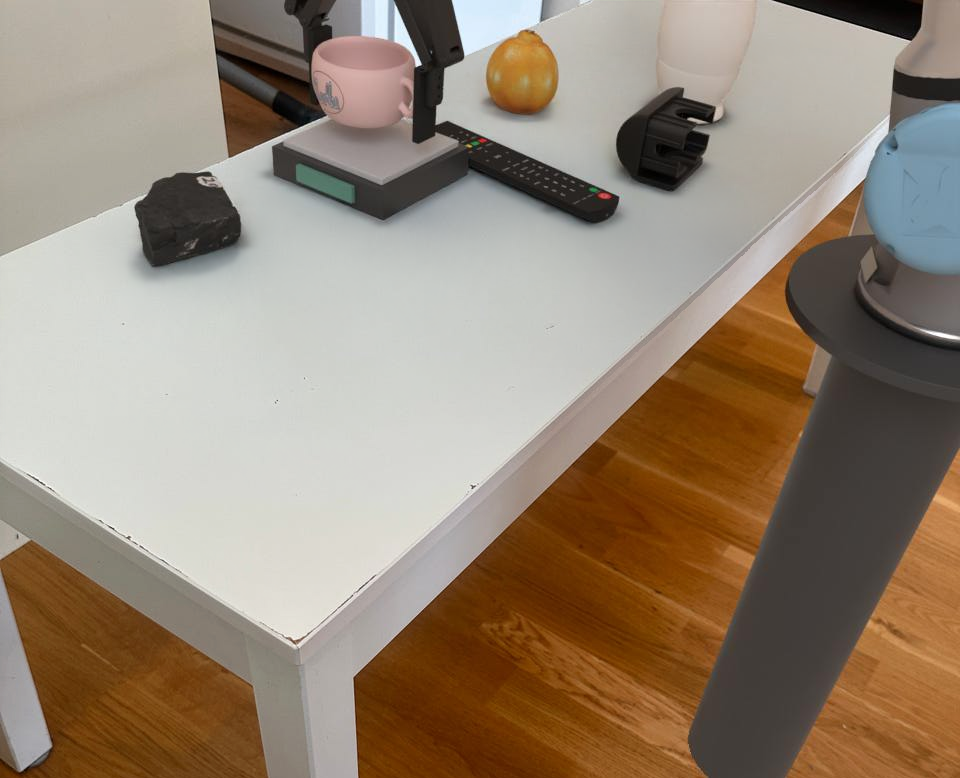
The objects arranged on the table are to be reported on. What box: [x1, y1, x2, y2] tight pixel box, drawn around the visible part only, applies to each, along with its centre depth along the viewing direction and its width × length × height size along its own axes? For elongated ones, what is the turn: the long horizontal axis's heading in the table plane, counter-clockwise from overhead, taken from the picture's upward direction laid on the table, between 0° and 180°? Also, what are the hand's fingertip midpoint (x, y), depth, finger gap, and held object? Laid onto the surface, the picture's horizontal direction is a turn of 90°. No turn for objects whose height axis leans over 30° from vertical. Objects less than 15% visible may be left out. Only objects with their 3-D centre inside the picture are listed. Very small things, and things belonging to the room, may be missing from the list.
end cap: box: [615, 87, 716, 192], centre depth 107 cm, size 10×7×7 cm
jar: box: [656, 0, 758, 125], centre depth 116 cm, size 11×10×15 cm
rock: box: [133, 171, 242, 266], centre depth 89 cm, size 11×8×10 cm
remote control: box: [435, 120, 620, 223], centre depth 105 cm, size 5×24×1 cm, turn 49°
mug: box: [312, 35, 417, 128], centre depth 98 cm, size 12×10×6 cm
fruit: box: [485, 29, 559, 115], centre depth 116 cm, size 8×8×8 cm
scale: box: [271, 119, 469, 221], centre depth 102 cm, size 14×14×3 cm
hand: (371, 119), depth 100 cm, fingers closed on mug, 12 cm apart
